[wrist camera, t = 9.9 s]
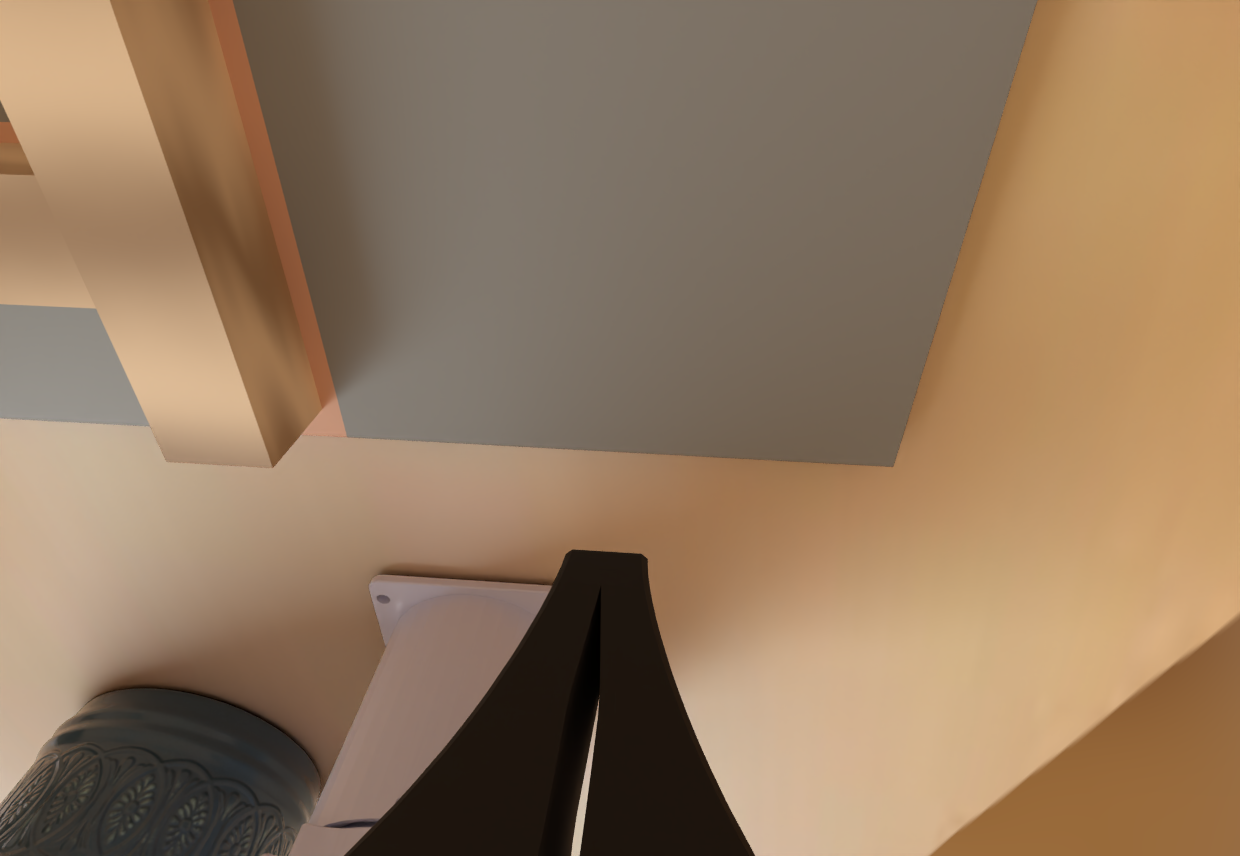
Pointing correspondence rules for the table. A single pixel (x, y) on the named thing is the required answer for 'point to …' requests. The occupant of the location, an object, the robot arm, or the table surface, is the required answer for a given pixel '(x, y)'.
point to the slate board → (597, 218)
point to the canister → (161, 782)
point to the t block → (151, 219)
